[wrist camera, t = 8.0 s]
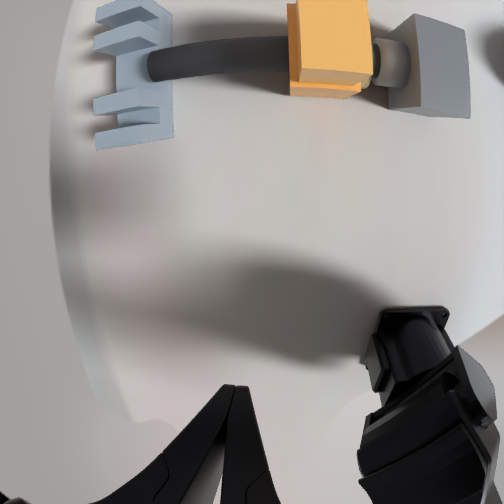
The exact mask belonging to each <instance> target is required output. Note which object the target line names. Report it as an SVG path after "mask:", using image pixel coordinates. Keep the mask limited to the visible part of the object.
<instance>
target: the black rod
mask: <svg viewBox="0 0 504 504" xmlns="http://www.w3.org/2000/svg"><path fill="white" fill-rule="evenodd" d="M372 45H373V75H372V78H377V77H378V75H379V73H380V68H381V53H380V49H379V46H378V45H377V44H373V43H372ZM147 70H148V74H149V76H150V78H151V80H152V81H153V82H161V81H167V80H173V79H180V78H186V77H194V76H202V75H212V74H223V73H236V72H256V71H290V68H289V40H288V36H277V37H248V38H234V39H223V40H214V41H206V42H198V43H192V44H186V45H180V46H174V47H169V48H164V49H159V50H155V51H151V52H150V53H149V55H148V59H147Z"/></svg>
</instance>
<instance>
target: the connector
mask: <svg viewBox="0 0 504 504" xmlns="http://www.w3.org/2000/svg"><path fill="white" fill-rule="evenodd" d="M372 43H373V44H377V45H378V46H379V49H380V53H381V68H380V73H379V75H378V77H377V78H372V77H371V80H372V82H373V84H375V85H380V86H386V87H388V109H389V110H395V111H401V112H407V113H413V114H418V115H423V116H428V117H450V118H467V119H470V112H471V109H470V78H469V64H468V54H467V46H466V38H465V32H464V30H463V29H461V28H458V27H455V26H453V25H450V24H447V23H444V22H441V21H438V20H435V19H432V18H429V17H425V16H422V15H418V14H415V13H414V14H413V15H411V16H410V17H409V18H408V19H407V20H405V21H404V22H403V23H402V24H400V25H399V26H398V27H397V28H396V29H394V30H393V31H392V32H391V33H390V34H389V35H387V36H386V37H385V39H383V38H377V37H376V38H374V39H373V41H372Z"/></svg>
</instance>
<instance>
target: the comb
mask: <svg viewBox="0 0 504 504" xmlns="http://www.w3.org/2000/svg"><path fill="white" fill-rule="evenodd" d="M95 22H97V23H100V24H103V25H105V26H108V27H111V28H113V29H112V30H109V31H106V32H103V33H101V34H98V35H95V36H94V45H93V51H96V52H100V53H104V54H108V55H112V56H116V93H113V94H110V95H106V96H102V97H98V98H95V99H93V116H102V115H117V123H118V129H113V130H108V131H103V132H98V133H95V145H96V150H102V149H108V148H114V147H121V146H127V145H135V144H142V143H147V142H152V141H157V140H163V139H168V138H174V131H173V109H172V80H167V81H161V82H153V81H152V80H151V78H150V76H149V74H148V70H147V59H148V55H149V53H150V52H151V51H155V50H159V49H164V48H169V47H171V46H172V14H171V13H170V12H169V11H167V10H166V9H165V8H163V7H162V6H161V5H159V4H158V3H156V2H155V1H154V0H116V1H114V2H111V3H108V4H106V5H103V6H101V7H98V8H97V9H96V18H95Z"/></svg>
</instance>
